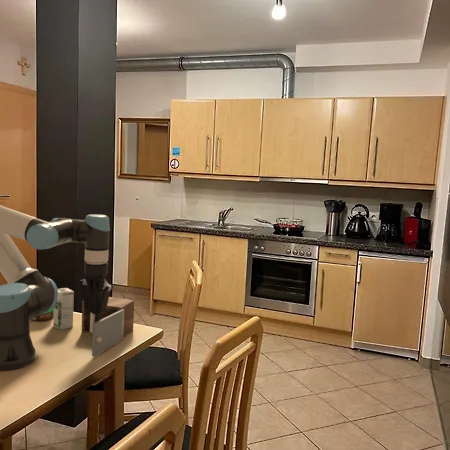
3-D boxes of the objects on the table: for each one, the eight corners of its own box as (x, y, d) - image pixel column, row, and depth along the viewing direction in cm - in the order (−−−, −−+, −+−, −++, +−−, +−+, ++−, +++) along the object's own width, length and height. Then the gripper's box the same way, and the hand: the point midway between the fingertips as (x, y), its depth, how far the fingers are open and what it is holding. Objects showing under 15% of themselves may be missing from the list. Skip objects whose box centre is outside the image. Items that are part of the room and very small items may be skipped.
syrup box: (52, 326, 173) (52, 289, 172) (67, 323, 177) (68, 287, 176) (58, 330, 169) (59, 292, 168) (73, 327, 173) (74, 290, 172)
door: (120, 338, 164) (121, 309, 162) (126, 339, 163) (127, 310, 161) (91, 356, 147) (92, 323, 146) (97, 357, 146) (98, 324, 145)
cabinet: (81, 333, 168) (82, 301, 166) (96, 324, 178) (96, 295, 176) (120, 339, 164) (121, 307, 162) (133, 330, 173) (134, 300, 172)
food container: (34, 325, 173) (35, 299, 172) (26, 321, 177) (26, 296, 176) (63, 318, 183) (63, 294, 182) (54, 314, 187) (55, 290, 186)
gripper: (119, 263, 148) (116, 332, 151) (90, 257, 154) (88, 324, 157) (103, 266, 142) (100, 338, 145) (73, 260, 148) (71, 330, 151)
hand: (94, 331), depth 151 cm, fingers closed
